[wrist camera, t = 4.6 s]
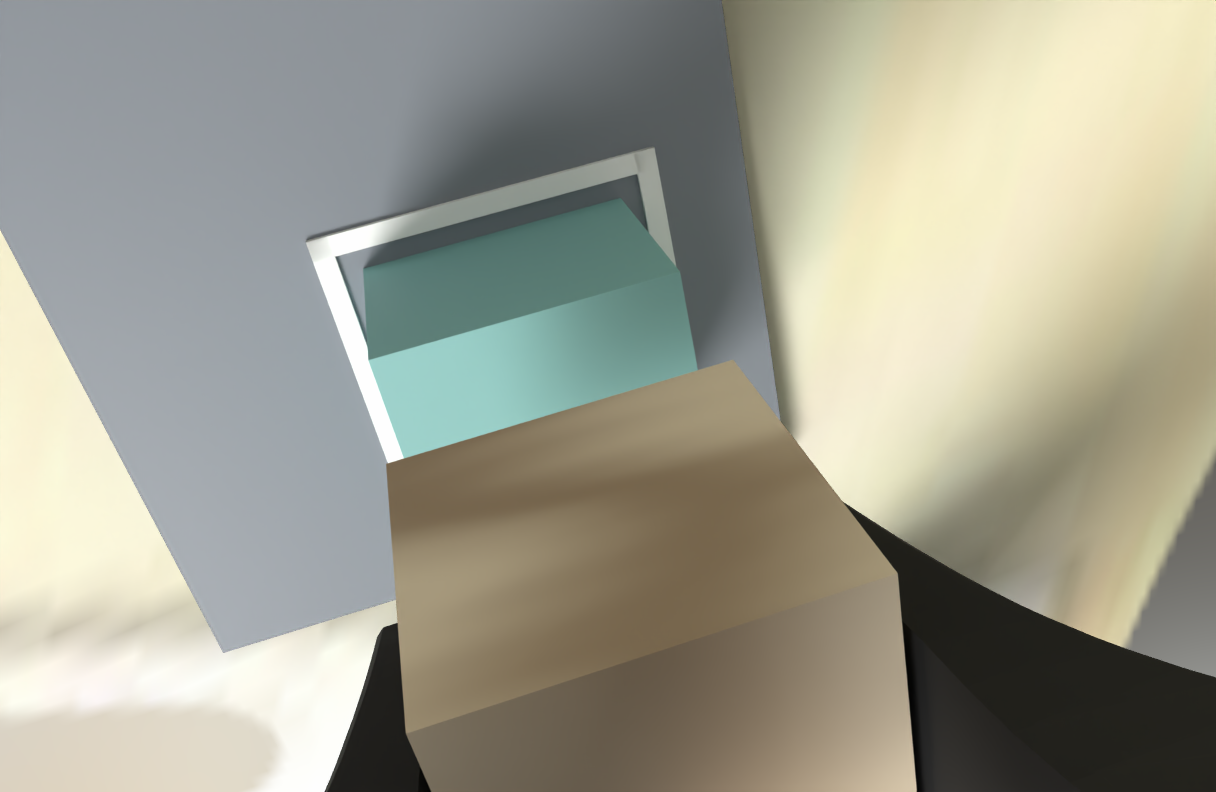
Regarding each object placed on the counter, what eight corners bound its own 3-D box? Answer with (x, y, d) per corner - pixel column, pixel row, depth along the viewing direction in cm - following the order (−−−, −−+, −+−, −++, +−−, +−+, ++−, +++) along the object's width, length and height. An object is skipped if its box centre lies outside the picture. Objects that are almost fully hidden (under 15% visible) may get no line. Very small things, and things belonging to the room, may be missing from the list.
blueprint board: (226, 629, 23) (202, 798, 19) (-483, -746, 12) (-901, -1045, 8) (776, 460, 24) (865, 584, 20) (574, -920, 14) (677, -1258, 9)
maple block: (483, 718, 15) (532, 1023, 11) (385, 463, 13) (405, 732, 9) (777, 622, 15) (924, 883, 12) (733, 359, 13) (898, 573, 9)
